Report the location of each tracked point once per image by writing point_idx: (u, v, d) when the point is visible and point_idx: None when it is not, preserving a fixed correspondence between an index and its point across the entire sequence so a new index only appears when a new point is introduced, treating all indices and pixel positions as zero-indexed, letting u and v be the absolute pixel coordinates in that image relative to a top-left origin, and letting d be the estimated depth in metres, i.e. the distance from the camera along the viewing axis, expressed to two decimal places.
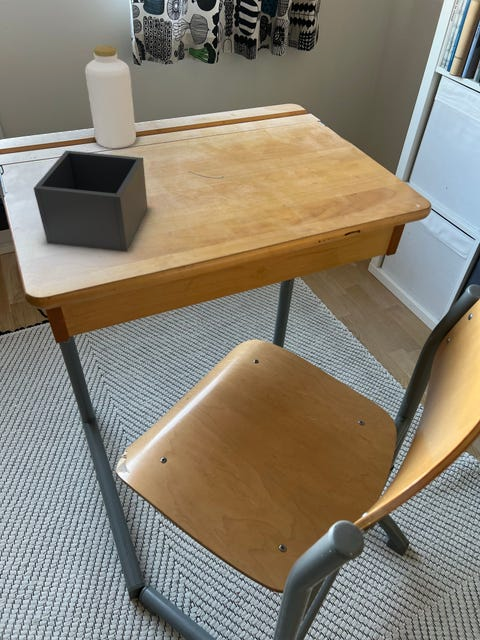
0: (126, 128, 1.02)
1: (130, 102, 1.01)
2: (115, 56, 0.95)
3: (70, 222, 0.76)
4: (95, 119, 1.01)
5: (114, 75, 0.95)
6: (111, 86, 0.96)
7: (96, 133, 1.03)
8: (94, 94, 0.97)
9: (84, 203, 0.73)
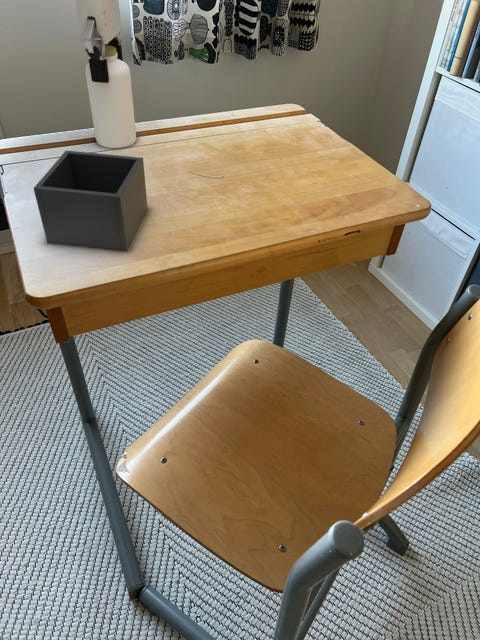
0: (126, 128, 1.02)
1: (130, 102, 1.01)
2: (115, 56, 0.95)
3: (70, 222, 0.76)
4: (95, 119, 1.01)
5: (114, 75, 0.95)
6: (111, 86, 0.96)
7: (96, 133, 1.03)
8: (94, 94, 0.97)
9: (84, 203, 0.73)
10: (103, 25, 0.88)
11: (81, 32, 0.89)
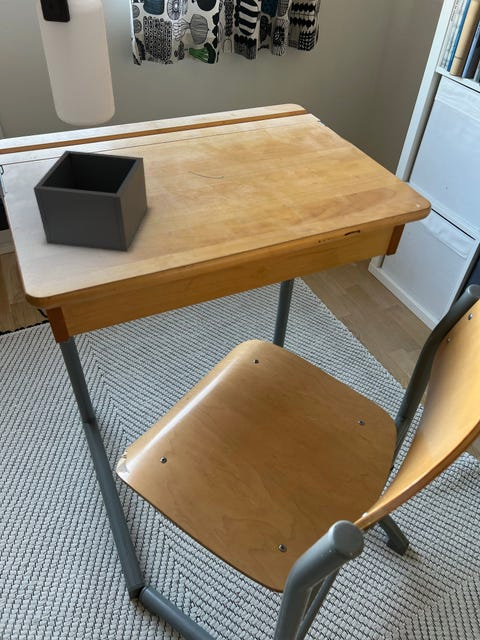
0: (99, 95, 0.71)
1: (105, 56, 0.69)
2: None
3: (70, 222, 0.76)
4: (53, 81, 0.69)
5: (79, 11, 0.63)
6: (75, 29, 0.64)
7: (57, 103, 0.71)
8: (50, 42, 0.65)
9: (84, 203, 0.73)
10: None
11: None
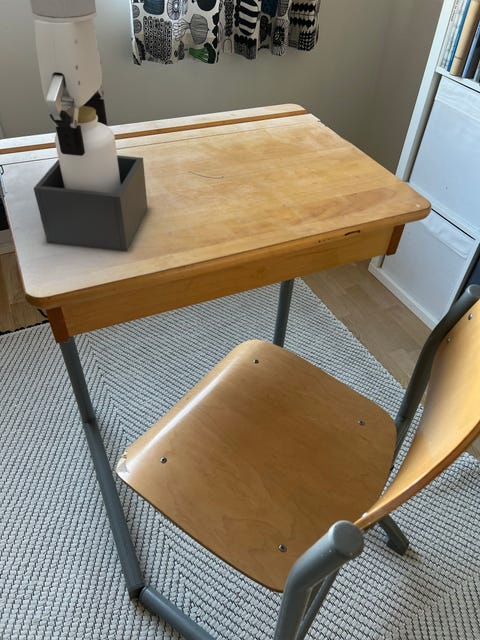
0: None
1: (116, 177, 0.76)
2: (94, 121, 0.71)
3: (70, 222, 0.76)
4: None
5: (93, 147, 0.71)
6: (89, 161, 0.72)
7: None
8: (67, 170, 0.73)
9: (84, 203, 0.73)
10: (75, 84, 0.64)
11: (45, 93, 0.64)
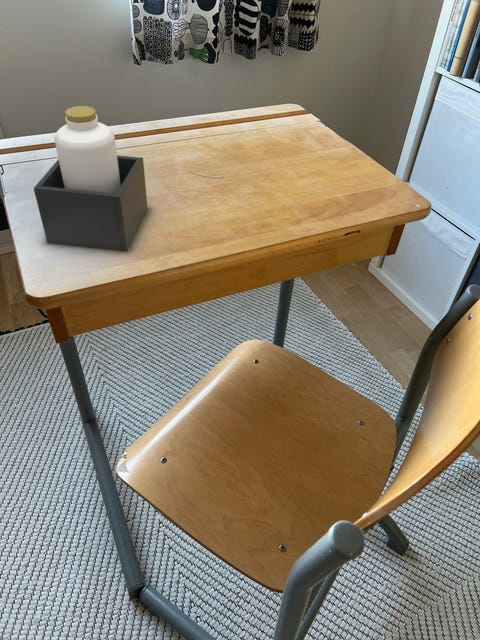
0: None
1: (116, 177, 0.76)
2: (94, 121, 0.71)
3: (70, 222, 0.76)
4: None
5: (93, 147, 0.71)
6: (89, 161, 0.72)
7: None
8: (67, 170, 0.73)
9: (84, 203, 0.73)
10: None
11: None
